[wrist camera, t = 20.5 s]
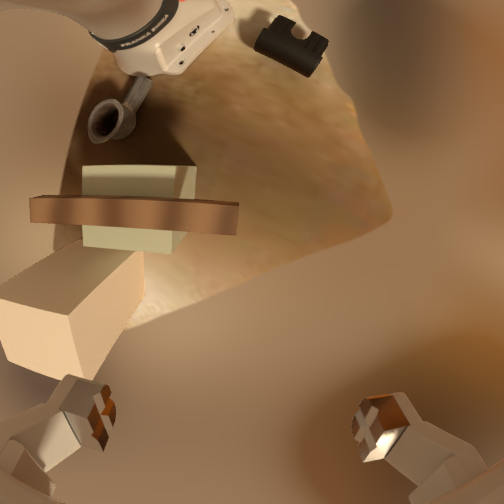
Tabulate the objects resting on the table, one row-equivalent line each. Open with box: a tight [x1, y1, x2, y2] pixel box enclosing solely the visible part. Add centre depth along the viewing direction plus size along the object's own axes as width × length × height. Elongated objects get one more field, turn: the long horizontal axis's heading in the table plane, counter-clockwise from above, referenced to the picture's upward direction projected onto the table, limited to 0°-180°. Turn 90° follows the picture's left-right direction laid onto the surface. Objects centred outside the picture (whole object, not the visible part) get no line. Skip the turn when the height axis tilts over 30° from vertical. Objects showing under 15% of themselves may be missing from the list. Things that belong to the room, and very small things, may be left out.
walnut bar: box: [29, 195, 239, 236], centre depth 29 cm, size 26×3×3 cm, turn 85°
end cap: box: [254, 15, 329, 78], centre depth 36 cm, size 10×7×7 cm
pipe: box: [88, 75, 153, 144], centre depth 37 cm, size 6×13×8 cm, turn 150°
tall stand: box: [0, 239, 145, 381], centre depth 36 cm, size 14×10×26 cm
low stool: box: [82, 164, 197, 254], centre depth 38 cm, size 12×10×16 cm
